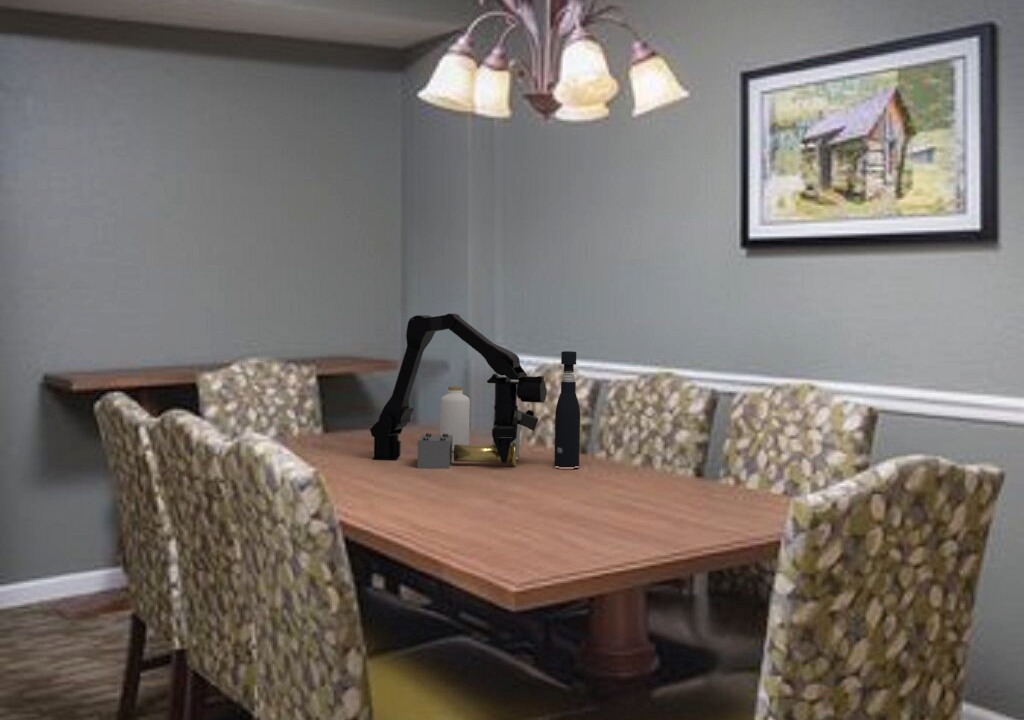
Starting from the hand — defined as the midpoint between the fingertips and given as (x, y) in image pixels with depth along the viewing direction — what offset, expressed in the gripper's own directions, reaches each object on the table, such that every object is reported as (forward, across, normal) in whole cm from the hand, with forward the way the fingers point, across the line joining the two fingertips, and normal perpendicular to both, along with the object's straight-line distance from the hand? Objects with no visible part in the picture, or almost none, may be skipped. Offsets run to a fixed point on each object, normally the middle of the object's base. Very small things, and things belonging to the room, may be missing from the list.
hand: (504, 461), depth 292 cm
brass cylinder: (+1, 0, +5) cm, 5 cm away
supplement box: (+2, +16, 0) cm, 16 cm away
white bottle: (+2, +29, +15) cm, 33 cm away
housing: (+1, 0, +18) cm, 18 cm away
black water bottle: (+2, -1, -16) cm, 16 cm away
